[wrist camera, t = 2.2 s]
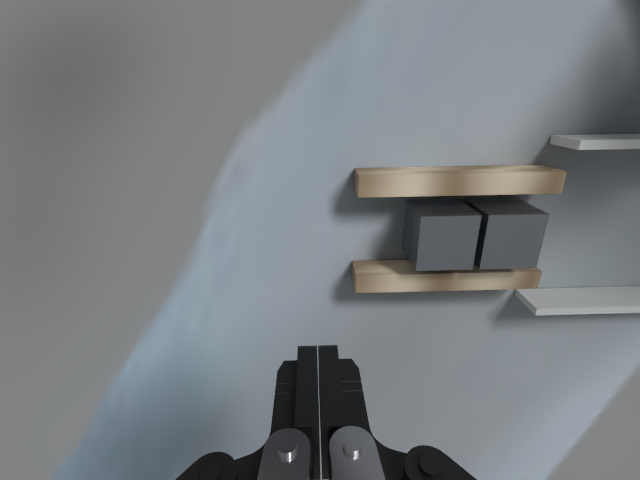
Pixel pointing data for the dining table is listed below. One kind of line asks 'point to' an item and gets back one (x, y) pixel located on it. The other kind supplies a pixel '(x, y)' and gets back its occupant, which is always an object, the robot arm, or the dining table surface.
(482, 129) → the dining table surface
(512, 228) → the dark gray cube
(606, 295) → the tray
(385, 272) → the slotted rail
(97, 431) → the dining table surface
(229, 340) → the dining table surface
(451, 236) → the dark gray rectangular block
